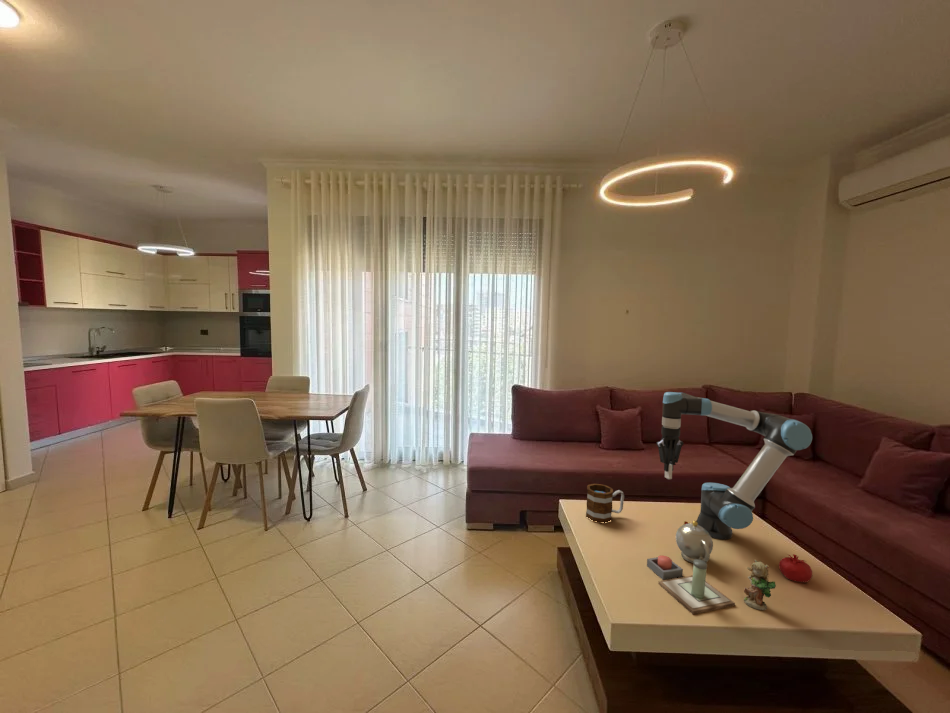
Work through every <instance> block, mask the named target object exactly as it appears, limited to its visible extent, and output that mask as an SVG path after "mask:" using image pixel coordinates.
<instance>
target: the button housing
mask: <svg viewBox="0 0 950 713" xmlns="http://www.w3.org/2000/svg"><path fill="white" fill-rule="evenodd" d="M646 567H647V568H648V569H650V570H651V571H652V572H654V573H655V575H657V577H658V578H660V579H661V580H662V581H663V580H669V579H671V578H672V579H675V578H677V577H678V578H680V577H684V576H683V574H684V573H683V572H684V571H683V570H684V569H683V568H682V567H681V566H679V565H678V564H677V563H675V562H674V561H673V560H672V569H670V570H663V569H661V568H660V567H659V566H658V556H657V557H650V558H647V560H646Z"/></svg>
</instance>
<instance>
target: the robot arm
mask: <svg viewBox="0 0 950 713" xmlns="http://www.w3.org/2000/svg"><path fill="white" fill-rule="evenodd" d="M682 415H692V416H705V417H706V416H707V417H709V418H713V419H716V420H720V421H723V422H727V423H730V424H734V425H738V426H741V427H745V428H746V430H748V431H750V432H754V433H757V434H759V435H762V436H764V437H763V441H764V445H763V446H762V447H761V449H760V451H758V453H757V454H756V455H755V457H754V458H753V460H752V461H751V463H750V464H749V465H748V466H747V467H746V470H745V471H744V472H743V474H742V475H741V477H739V479H738V481H737V482H736V483H735V484H734V485H733V487H730V486H728V485H726V484H722V483H718V482H704V483H703V484H702V485H701V490H700V491H701V494H700V495H701V496H700V512H699V514H698V516H697V519H696V520H695V521H697V523H698V525H699V526H701V527H703V528H704V529H705V530H706V531H707V532H708V533H709V534H710V536H711V538H712V539H713V538H714V539H718V540H729V539H731V538H732V537H733V529H734V530H742V529H746V528H748V527H749V526H750V525H751V524H752V522H753V521H754V513H753V510H754V509H755V508H756V505H755V500H756V499H757V497H758V496H759V495H760V494H761V492H762V491H763V490H764V488H765V487H766V485H768V484H767V483H768V482H769V481H770V480H771V479H772V477H773V476H774V475H775V473H776V472H777V470H778V469H779V468H780V466H781V465H782V464H783V462H784V461H785V460H786V458H787V457H790V456H794V455H795V454H796V452H797V451H802V450H805V449H807V448H809V447H810V445H811V443H812V441H813V434H812V430H811V429H810V427H809V426H808V425H807V424H805V423H803V422H802V421H799V420H797V419H793V418H790V417H787V416H783V415H780V414H774V413H768V412H762V411H758V410H750V411H749V410H746V409H743V408H738V407H736V406H732V405H728V404H724V403H720V402H717V401H713V400H710V399H709V398H704V397H698V396H695V395H691V394H689V393H686V392H677V391H676V392H675V391H674V392H673V391H666V392H664V394H663V398H662V417H661V432H660V433H661V438H660V441H657V442H656V446H657V448H658V456H659V460H660V463H662V464H663V465H664V466H663V470H664V478H666V479H667V480H672V479H673V471H674V466H676V464H677V463H678V462H679V459H680V454H681V450H682V447H683V445H684V442H683V441H682V440H680V436H681V427H682V426H681V424H682Z"/></svg>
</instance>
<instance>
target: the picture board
mask: <svg viewBox="0 0 950 713" xmlns="http://www.w3.org/2000/svg"><path fill="white" fill-rule="evenodd" d="M692 577H693V574H692V575H687V576H682V577H678V578H672V579H666V580H663V579H662V580H659V581H658V583H657V584H658V585H659V587H661V588H662V589H664V591H666V592H667V593H668V594H669V595H670V596H672V597H673V599H674V600H676V601H677V602H678V603H679V604H681V606H683V607H684V608H685V609H686V610H688V612H690V613H691V614H692V615H696V614H701V613H706V612H711V611H716V610H720V609H726V608H730V607H734V606H736V602H734V601H733V600H732V599H730V598H729V597H728V596H726V595H725V594H724V593H722V592H721V591H720V590H718V589H717V588H715V587H714V586H713V585H712V584H710V583H709V582H708V581H706V582H705V593H704V598H703V599H698V598H696V597H694V596H693V595H692V594H691V589H692Z"/></svg>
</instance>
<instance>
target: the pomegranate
mask: <svg viewBox="0 0 950 713" xmlns="http://www.w3.org/2000/svg"><path fill="white" fill-rule="evenodd" d="M778 567H779V571H780V572H781V574H782V575H783V576H784V577H785V578H786V579H788V580H790V581H792V582H797V583H807V582H809V581H810V580H811V579H812V577H813V570H812V568H811V567H812V566H810V565H809V563H808V562H807V561H806V560H804V559H799V556H798V555H797V554H795V553H793V554H792V556H791V555H790V554H788V556H786V557H785V556H784V557H783V558H781V560H779V562H778Z"/></svg>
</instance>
